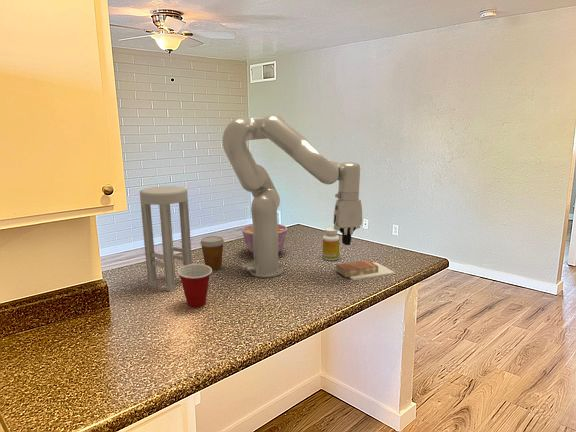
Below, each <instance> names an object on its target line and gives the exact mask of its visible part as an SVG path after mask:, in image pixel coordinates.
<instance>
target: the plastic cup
mask: <svg viewBox="0 0 576 432" xmlns="http://www.w3.org/2000/svg"><path fill="white" fill-rule="evenodd" d="M212 273H213V270H212V268H211V267H209V266H207V265H205V264H201V263H192V264H190V265H185V266H183V265H182V266H181V267H179V268H178V270H177V274H178V276H179V278H180V282H181V284H182V289H183V293H184V297H185V300H186V303H187V307H189V308H201V307H204V306H205V305H206V302H207V296H208V290H209V282H210V277H211V274H212Z"/></svg>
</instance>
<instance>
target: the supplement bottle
mask: <svg viewBox="0 0 576 432" xmlns="http://www.w3.org/2000/svg"><path fill="white" fill-rule="evenodd" d="M321 252H322V253H321V254H322V259H324V260H326V261H337V260H338V259H339V258H340V236H339V235H338V230H335V229H334V227H326V228H324V234H323V236H322V251H321Z"/></svg>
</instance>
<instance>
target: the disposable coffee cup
mask: <svg viewBox="0 0 576 432" xmlns="http://www.w3.org/2000/svg"><path fill="white" fill-rule="evenodd" d="M199 244H200V247H201V249H202V256H203V260H204V265H207V266H209V267H211V268H212V271H215V270H219V269H220V270H221V268H222V265H223V263H222V262H223V252H224V244H225V240H224V237H222V236H219V235H211V236H205V237H202V238H201V239H200V242H199Z"/></svg>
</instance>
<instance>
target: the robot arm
mask: <svg viewBox="0 0 576 432" xmlns="http://www.w3.org/2000/svg"><path fill="white" fill-rule="evenodd" d="M267 139H268V140H270V141H271V142H272V143H273V144H274V145H275V146H277V147H278V148H279V149H281V150H282V151H283V152H284V153H286V154H287V155H288V156H289V157H291V158H292V159H293V160H294V161H295V162H296V163H297V164H299V165H300V166H301V167H302V168H303V169H304V170H305V171H306V172H308V173H309V174H310V175H311V176H312V177H314V178H315V179H317V180H318V181H319V182H320V183H322V184H324V185H333V184H334V183H336V182H337V181H338V191H337V193H335V195H334V196H335V198H336V201H335V203H334V204H335V205H334V211H333V228H334V229H335V230H337V232H339V233H341V242H342V244H343V245H345V246H351V242H352V235H353V234H354V232H355V230H357V229H361V226H362V225H363V205H362V200H361V199H360V180H361V166H360V163H358V162H352V161H351V162H350V161H345V162H338V161H334V160H333V161H331V160H328V159H327V158H326V157H324V155H322V154H321V153H319V151H317V150H316V149H315V147H314V146H312V144H311V142H309V140H308V139H307V138H306V137H305V136H303V135H302V134H301V133H300V132H298V131H297V130H296V129H295V128H293V127H292V126H291V125H290V124H289V123H287V122H286V120H285V119H284V118H283V117H282V116H280V115H276V114H271V115H266V116H257V117H256V116H255V117H238V118H235V119H233V120H231V121H230V122H229V123H228V124H227V126H226V127H225V130H224V131H223V134H222V147H223V151H224V153H225V155H226V157H227V159H228V161H229V163H230V165H231V167H232V169H233V172H234V173H235V175H236V177H237V179H238V181H239V183H240V185H241V187H242V188H243V190H245V191H247V192H249V193H251V195H252V197H253V199H252V201H251V206H250V212H251V220H252V224H253V246H254V253H253V260H251V262H250V263H249V264H242V265H241V269H242V271H245V270H246V272H249V273H250V275H251V276H253V277H255V278H263V279H268V278H276V277H279V276H280V275H281V274H283V268H282V266H280V265H279V252H278V224H279V223H278V208H279V206H280V205H281V204H280V203H281V198H280V195H279V193H278V190H277V189H276V187H275V184H274V183H273V180H272V179H271V177H270V175H269V173H268V172H267V171H268V170H266V169H265V167H263V166H262V165H260V164H258V163H256V160H255V158H254V156H253V154H252V153H251V151H250V149H249V148H248V147H249V146H248V145H247V142H248V141H254V140H267Z"/></svg>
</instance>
